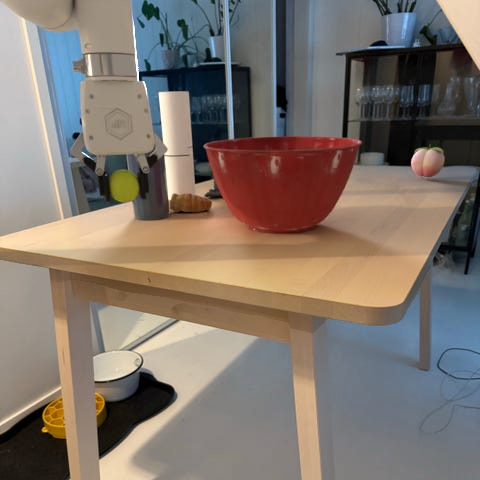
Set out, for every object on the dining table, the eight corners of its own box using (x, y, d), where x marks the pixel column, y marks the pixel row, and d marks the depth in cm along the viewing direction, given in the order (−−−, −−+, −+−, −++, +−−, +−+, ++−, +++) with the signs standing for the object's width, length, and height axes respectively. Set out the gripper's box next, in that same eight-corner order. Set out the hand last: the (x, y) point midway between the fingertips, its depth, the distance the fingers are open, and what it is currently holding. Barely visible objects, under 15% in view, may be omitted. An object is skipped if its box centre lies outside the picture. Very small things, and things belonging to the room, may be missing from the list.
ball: (111, 206, 71) (106, 172, 69) (108, 200, 75) (104, 168, 73) (143, 203, 73) (140, 170, 71) (139, 198, 77) (136, 167, 75)
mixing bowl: (373, 241, 77) (383, 143, 71) (204, 247, 77) (198, 149, 71) (338, 208, 103) (342, 134, 96) (211, 212, 103) (207, 138, 96)
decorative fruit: (446, 178, 138) (452, 143, 134) (436, 182, 133) (441, 145, 128) (416, 176, 144) (420, 142, 140) (405, 179, 138) (409, 144, 134)
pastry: (213, 207, 109) (212, 190, 107) (210, 213, 102) (209, 195, 101) (174, 207, 109) (173, 191, 108) (168, 213, 103) (167, 196, 101)
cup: (137, 221, 96) (128, 151, 91) (132, 214, 103) (124, 148, 97) (172, 218, 99) (166, 148, 93) (166, 211, 105) (159, 146, 99)
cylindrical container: (200, 196, 122) (194, 91, 111) (186, 201, 116) (178, 91, 106) (177, 195, 125) (169, 92, 114) (163, 200, 119) (152, 92, 108)
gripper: (47, 67, 60) (69, 207, 68) (174, 69, 66) (182, 199, 73) (49, 71, 67) (69, 198, 75) (164, 73, 72) (172, 192, 80)
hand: (125, 198), depth 74 cm, fingers closed on ball, 4 cm apart
